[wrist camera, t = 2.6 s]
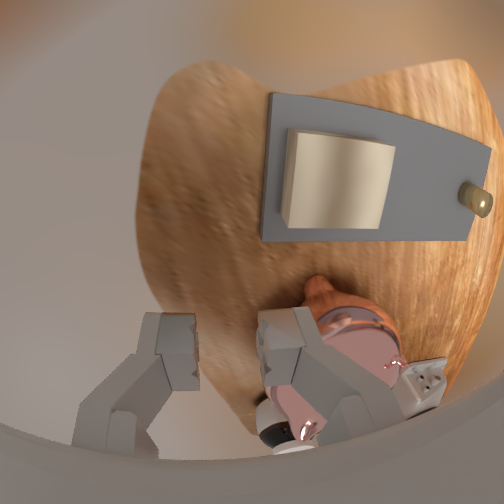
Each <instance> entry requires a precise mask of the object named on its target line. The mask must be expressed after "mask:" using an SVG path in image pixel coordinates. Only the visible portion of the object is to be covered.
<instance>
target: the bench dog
mask: <svg viewBox="0 0 504 504" xmlns="http://www.w3.org/2000/svg"><path fill="white" fill-rule="evenodd" d="M458 201H459V203H460V204H462V205H463V206H465V207H466V208H468V209H469V210H471V211H472V212H474V213H475V214H477V215H478V216H480V217H481V218H484V217H486V216H487V215H488V214H489V213H490V211H491V208H492V205H493V197H492V195H491V194H490V193H488V192H486V191H485V190H483V189H481V188H479V187H478V186H476V185H474V184H472V183H471V182H469V181H466V182H464V183H463V184H462V185H461V186H460V188H459V191H458Z"/></svg>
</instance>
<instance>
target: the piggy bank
mask: <svg viewBox="0 0 504 504" xmlns="http://www.w3.org/2000/svg"><path fill="white" fill-rule="evenodd" d="M304 293H305V298H306V299H305V301H304V302H303V303H302V304H301V305H300V306H299V307H305V306H307V307H308V308H309V309H310V311H311V313H312V316H313V318H314V320H315V323H316V325H317V327H318V330H319V332H320V334H321V337H322V339H323V341H324V344H325V345H327V344H330V345H331V346H333V347H334V348H336V349H337V350H338V351H340V352H341V353H343V354H344V355H346V356H347V357H349V358H350V359H351V360H353V361H354V362H356V363H357V364H359V365H360V366H362V367H363V368H365V369H366V370H368V371H369V372H371V373H372V374H373V375H375V376H376V377H378V378H379V379H381V380H382V381H384V382H385V383H387V384H388V385H389V386H390V388H391V390H393V388H394V387H395V385H396V383H397V382H398V379H399V377H400V374H401V370H402V368H403V370H404V371H407V369H408V367H411V365H410V364H408V363H407V361H406V360H405V358H404V357H403V346H402V340H401V336H400V333H399V330H398V328H397V326H396V324H395V323H394V321H393V319H392V318H391V317H390V315H389V314H388V313H387V312H386V311H385V310H384V309H382V308H381V307H380V306H379V305H377V304H375V303H374V302H372V301H370V300H368V299H366V298H363V297H360V296H356V295H352V294H347V293H343V292H339V291H337V290H335V288H334V287H333V286H332V285H331V283H330V282H329V281H328V279H327V278H326V277H325V276H323V275H315V276H312V277H311V278H309V279H308V280H307V281H306V283H305V285H304ZM262 383H263V380H262ZM263 387H264V385H263ZM264 390H265V392H266V395H267V397H268V398H269V400H270V402H271V403H272V404H273V406H274V407H275V408H276V409H277V411H278V412H279V413H281V414H282V415H283V416H284V417H285V418H286V419H287V421H288V422H289V425H290V428H291V431H292V434H293V436H294V437H295V439H296V440H297V441H298V442H299V443H300V444H303V443H305V442H306V441H308V440H309V439H310V438H311V437H312V436H313V435H314V434H316V433H317V432H319V431H321V430H322V428H323V427H324V425H325V424H326V422H327V421H326V420H325V419H324V418H323V417H322V416H321V415H320V414H319V413H318V412H317V411H316V410H315V409H314V408H313V407H312V406H311V405H310V404H309V403H308V402H307V401H306V400H305V399H304V398H303V397H302V396H301V395H300V394H299V393H298V392H297V391H296V390H295V389H294V388H293V387H292V386H291V385H281V386H269V387H264Z"/></svg>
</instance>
